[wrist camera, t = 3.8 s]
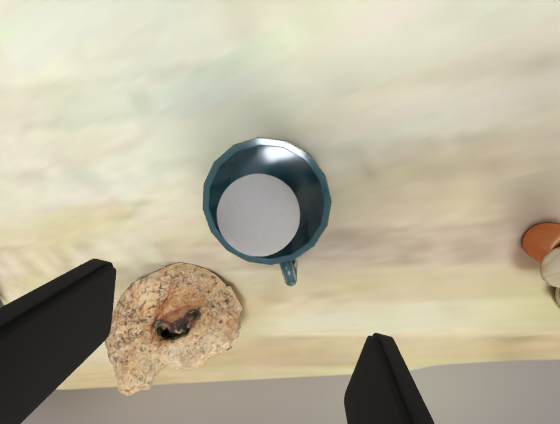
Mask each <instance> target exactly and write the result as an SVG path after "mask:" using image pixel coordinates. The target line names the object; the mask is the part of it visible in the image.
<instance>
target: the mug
mask: <svg viewBox="0 0 560 424" xmlns="http://www.w3.org/2000/svg"><path fill="white" fill-rule="evenodd" d="M258 173H259V174H266V175H270V176H273V177H276V178H278V179H280V180H281V181H283V182H284V183H285V184H286V185H288V186H289V187H290V188H291V190H292V191H293V193H294V195H295V196H296V198H297V201H298V204H299V209H300V220H299V227H298V230H297V232H296V234H295V236H294V237H293V239H292V240H291V241H290V242H289V244H287V245H286V246H285V247H284V248H283V249H281V250H280V251H278V252H276V253H274V254H271V255H268V256H262V257H261V256H250V255H246V254H243V253H241V252H239V251H237V250H236V249H234V248H233V247H232V246H230V245H229V244H228V243H227V241H226V240H225V239H224V237H223V236H222V234H221V232H220V229H219V226H218V222H217V208H218V204H219V201H220V199H221V197H222V195H223V193H224V191H225V190H226V189H227V188H228V187H229V186H230V185H231V184H232V183H233V182H234V181H236V180H237V179H239V178H241V177H243V176H247V175H251V174H258ZM330 207H331V197H330V193H329V188H328V184H327V180H326V176H325V175H324V173H323V172H322V170H321V169H320V168H319V166H318V165H317V164H316V162H315V161H314V160H313V158H312V157H311V156H310V154H309V153H308V152H306V151H305V150H303V149H301V148H299V147H298V146H296V145H294V144H292V143H291V142H288V141H285V140H277V139H268V138H255V139H252V140H249V141H245V142H242V143H239V144H235V145H233V146H232V147H231V148H230V149H229V150H227V151H226V152H225V153H224V154H223V155H222V156H220V157H219V158H218V159H217V160H216V161H215V162H214V164H213V166H212V168H211V170H210V172H209V174H208V176H207V178H206V180H205V183H204V191H203V211H204V214H205V216H206V219H207V222H208V225H209V228H210V230H211V232H212V233H213V235H214V236H215V237H216V238H217V239H218V240H219V242H220V243H221V244H222V245H223V246H224V247H225V249H226V250H228V251H229V252H231V253H233V254H235V255H237V256H238V257H240V258H242V259H244V260H246V261H248V262H255V263H262V264H268V265H273V264H278V263H279V264H280V267H281V271H282V274H283V277H284V280H285V283H286V284H287V285H288V286H294V285H295V284H296V282H297V266H298V262H297V259H296V258H298V257H299V256H301V255H302V254H304V253H305V252H306V251H308V250H309V249H311V248H312V247H314V246H315V244H316V243H317V241H318V239H319V238H320V236H321V235H322V233H323V232H324V230H325V229H326V227H327V225H328V219H329V213H330Z"/></svg>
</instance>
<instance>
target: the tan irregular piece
mask: <svg viewBox="0 0 560 424" xmlns="http://www.w3.org/2000/svg"><path fill="white" fill-rule="evenodd" d="M242 309H243V308H242V306H241V305H240V303H239V301H238V299H237V297H236V296H235V294H234V292H233V290H232V288H231V286H226V285H225V283H223V281H222V280H221V279H219V278H218V276H217V275H215V274H213V273H212V272H210V271H208V270H207V269H204V268H201V267H200V268H198V267H197V266H195V265H193V264H192V265H190V264H184V263H178V264H172V265H169V266H166V267H165V268H162V269H160V270H159V271H157V272H155V273H152V274H151V275H149V276H148V277H145V278H144V279H140V280H137V281H135V282H133V283H132V284H131V285H130V287H129V288H128V289H127V290H126V291H125V292H124V293H123V294H122V295H121V297H120V300H119V301H118V303H117V306H116V308H115V310H114V313H113V314H112V324H111V331H110V334H109V336H108V337H107V339H106V340H105V345H106V347H107V350H108V357H109V359H110V362H111V364H112V365H113V368H114V371H115V378H116V380H117V383H118V387H119V391H120V392H121V393H122V394H126V395H128V396H129V395H130V394H133V393H135V392H137V391H139V390H141V389H146V390H148V389H149V388H150V386H151V384H152V382H153V380H154V379H155V378H156V376H157V375H158V373H159V371H160V370H161V369H163V368H165V367H171V368H175V369H176V368H178V369H182V370H189V371H190V370H195V369H197V368H199V367H201V366H202V365H203V364H204V363H205V361H206V360H207V359H208V358H209V356H212V355H216V354H219V353H223V351H224V350H229V349H230V348H232V342H233V341H234V342H236V340H237V337H238V336H239V333H240V332H239V330H240V328H241V326H240V320H239V315H240V311H241V310H242Z"/></svg>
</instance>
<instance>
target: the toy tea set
mask: <svg viewBox="0 0 560 424" xmlns="http://www.w3.org/2000/svg"><path fill="white" fill-rule="evenodd" d="M523 248H524V250H525V251H526V253H527V254H529V255H530V256H531V257H533V258H534V259H536V260H537V261H538V262H540V263H541V266H540V273H541V276H542V278H543V280H544V281H545V282H546V283H548V284H549V285H551V286H554V287H557V289H556V293H555V298H556V301H557V303H558V305H559V306H560V224H554V223H541V224H538V225H536V226H534V227H532V228H531V229H529V230H528V231H527V233H526V234H525V236H524V238H523Z"/></svg>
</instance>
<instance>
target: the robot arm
mask: <svg viewBox="0 0 560 424" xmlns="http://www.w3.org/2000/svg"><path fill="white" fill-rule="evenodd" d="M115 279H116V269H115V268H113V265H112V263H111V262H107V261H103V260H99V259H91V260H89V261H88V262H86V263H84V264H82V265H80V266H78V267H76V268H74V269H72V270H71V271H69V272H67V273H65V274H63V275H61V276H59V277H57V278H56V279H54V280H52V281H50V282H48V283H46V284H44V285H42V286H41V287H39V288H37V289H35V290H33V291H31V292H29V293H27V294H26V295H24V296H22V297H20V298H18V299H16V300H14V301H12V302H11V303H9V304H7V305H5V306H3V307H1V308H0V424H21V423H22V422H23V420H25V419H26V417H28V415H30V414H31V413H32V412H33V411H34V410H35V409H36V408H37V407H38V406H39V405H40V404H41V403H42V402H43V401H44V400H45V399H46V398H47V397H48V396H49V395H50V394H51V393H52V392H53V391H54V390H55V389H56V388H57V387H58V386H59V385H60V384H61V383H62V382H63V381H64V380H65V379H66V378H67V377H68V376H69V375H70V374H71V373H72V372H73V371H74V370H75V369H76V368H77V367H79V366H80V365H81V364H82V363H83V362H84V361H85V360H86V359H87V358H88V357H89V356H90V355H91V354H92V353H93V352H94V351H95V350H96V349H97V348H98V347H99V346H100V345H101V344H102V343H103V342H104V341H105V340H106V339H107V337H108V336H109V334H110V331H111V324H112V313H113V301H114V290H115ZM344 405H345V411H346V417H347V423H348V424H434V422H433V420H432V417H431V415H430V413H429V411H428V409H427V407H426V405H425V403H424V401H423V399H422V397H421V395H420V393H419V391H418V389H417V387H416V385H415V382H414V380H413V378H412V376H411V374H410V372H409V370H408V368H407V366H406V364H405V362H404V360H403V358H402V356H401V354H400V351H399V349H398V347H397V345H396V343H395V341H394V339H393V338H392V337H390V336H386V335H382V334H378V333H374V334H373V336H368V337H367V339H366V342H365V344H364V347H363V349H362V352H361V354H360V357H359V359H358V362H357V364H356V367H355V369H354V372H353V374H352V377H351V380H350V382H349V385H348V387H347V390H346V393H345V397H344Z"/></svg>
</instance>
